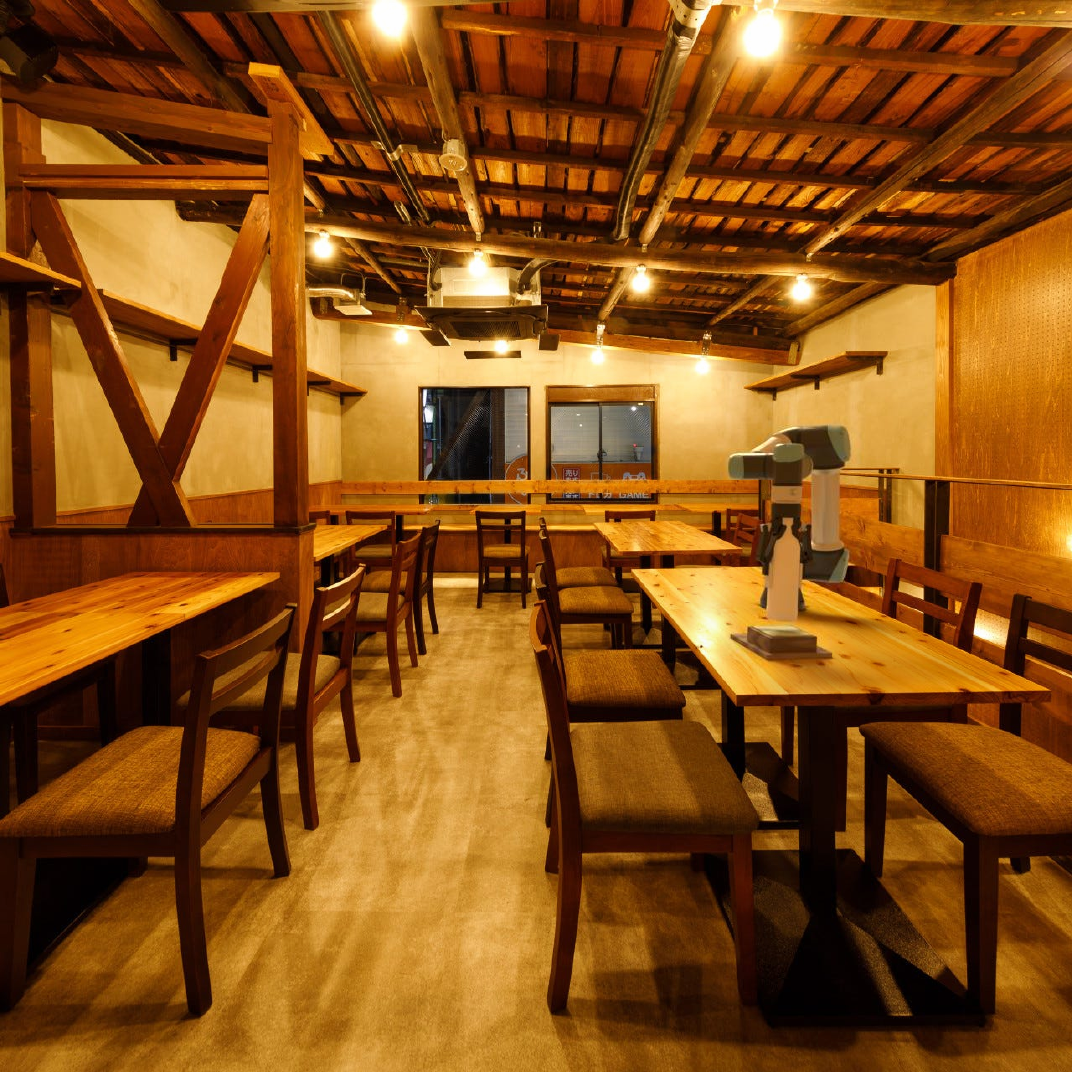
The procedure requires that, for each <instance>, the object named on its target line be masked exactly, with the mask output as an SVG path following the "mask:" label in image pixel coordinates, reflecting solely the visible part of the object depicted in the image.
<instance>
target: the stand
mask: <svg viewBox="0 0 1072 1072" xmlns="http://www.w3.org/2000/svg"><path fill="white" fill-rule="evenodd" d="M746 631H747V632H746V633H744V632H743V633H730V637H729V638H730V639H731V640H733V641H734V642H736V643H738V644H740V645H741V646H742V647H744V648H746V649H748V650H750V651H751V652H753V653H755V654H756V655H758V656H760V657H761V658H763V659H765V660H767V661H768V660H769V661H771V660H772V661H773V660H797V659H799V660H800V659H801V660H803V659H826V658H833V652H831V651H829V650H827V649H825V648H823V647H821V646H819V645H818V636H816V635H814V634H812V633H810V632H808V631H805V630H803V629H800V628H799V627H796V626H794V625H792V624H784V625H783V624H781V625H780V624H779V625H752V626H750V625H748V626H747V630H746Z"/></svg>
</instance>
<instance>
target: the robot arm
mask: <svg viewBox="0 0 1072 1072" xmlns="http://www.w3.org/2000/svg"><path fill="white" fill-rule="evenodd" d="M851 451H852V450H851V440H850V436H849V432H848V429H847V428H846V426H844V425H841V424H840V425H839V424H838V425H835V424H833V425H832V424H824V425H808V426H807V425H805V426H792V427H787V428H785V429H782V430H780V431H777V432H775V433H772V434H770V435H768V436H767V437H766V438H765V440H764V441H763V443H761V444H760V445H759V446H757V447H755V448H753V449H752V450H750V451H748V452H747V453H745V452H744V453H742V452H740V453H733V454H731V455H730V456H729V458H728V463H727V471H728V472H727V473H728V476H729V477H730V478H731V479H733V480H741V481H743V480H766V481H767V480H772V485H771V501H772V502H773V503H771V504H770V507H771V508H770V521H769V522H768V523H760V524H759V525H758V527H759V537H758V543H757V547H756V553H755V557H754V558H755V560H756V561H758V562H760V563H761V564H762V565H761V573H762V576H764V582H763V583H764V584H763V585H764V587H763V591H762V593H761V596H760V598H759V606H760V607H761V608H764V609H766V608H767V593H768V588H772V572H773V564H771V563H770V561H771V559H772V557H773V554H774V546H775V543H776V540H779V539H780V538H782V536H783V534H784V532H785V531H786V528H787V526H786V525H783V518H793V525H792V526H791V529H792V534H793V536H794V537H795V538H796V539H797V540H798V542H799V545H800V564H799V587H798V612H799V611H803V610H805V609H806V608H805V607H806V601H805V598H804V595H803V592H802V588H803V581H813V582H821V583H829V584H830V583H837V584H838V583H842V582H843V581H844V579H845V577H846V574H847V569H848V566H849V559H850V550H849V549H847V548H845V543H844V542H843V541H842V540H841V539H840V506H841V505H840V504H841V503H840V500H841V499H840V495H841V494H840V491H841V489H840V488H841V487H840V485H841V484H840V483H841V482H840V479H841V478H840V474H841V473H840V472H841V471H842V470H843V469H844V468H845V466H846V463H847V462H849V461H850V459H851V454H852V453H851ZM809 476H811V478H810V479H811V480H810V487H811V493H810V494H811V495H810V496H811V499H810V500H811V523H803V522H802V520H801V517H802V509H803V508H802V507H803V506H802V504H801V503H800V502H802V501H803V499H802V498H803V480H805V479H807V478H808V477H809ZM771 530H772V533H771V535H770V533H769V532H770V531H771ZM799 530H800V531H801V541H800V535H799V533H798V532H799ZM769 535H770V540H769V542H768V539H769ZM767 544H768V545H767Z"/></svg>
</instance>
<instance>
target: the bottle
mask: <svg viewBox="0 0 1072 1072" xmlns="http://www.w3.org/2000/svg"><path fill="white" fill-rule="evenodd" d="M783 525H786V526H787V528H786V531H785V532H784V534H783V536H782V538H780V539H779V540H776V543H775V546H774V554H773V557H772V559H771V561H770V563H771V564H773V572H772V588H768V593H767V608H765V609H766V611H765V612H766V618H767V619H768V620H771V621H775V622H779V623H780V622H781V623H785V622H786V623H791V622H796V621H797V620H798V616H799V615H798V614H799V611H798V587H799V564H800V545H799V542H798V540H797V539H796V538H795V537H794V536H793V534H792V529H791V526H792V525H793V518H783Z"/></svg>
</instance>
